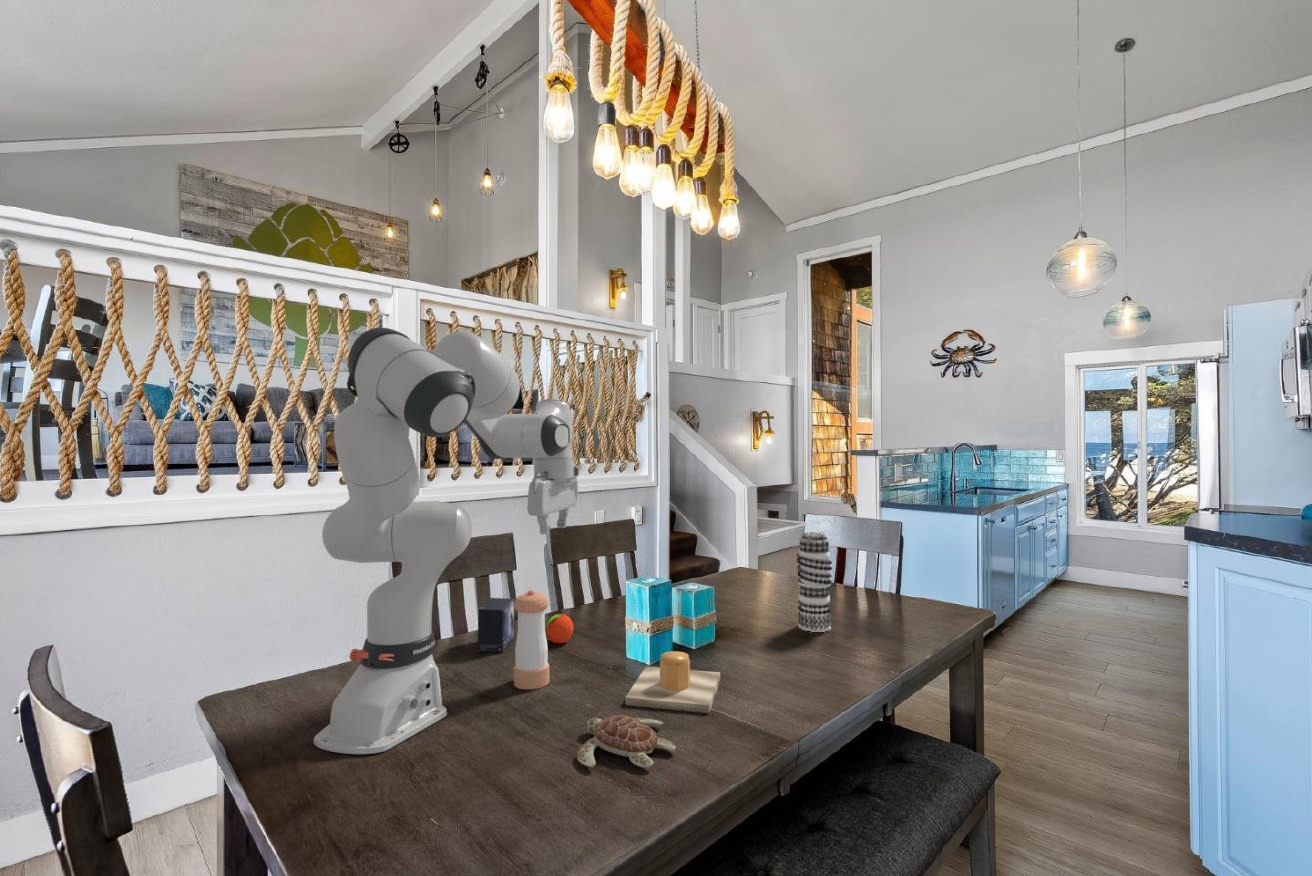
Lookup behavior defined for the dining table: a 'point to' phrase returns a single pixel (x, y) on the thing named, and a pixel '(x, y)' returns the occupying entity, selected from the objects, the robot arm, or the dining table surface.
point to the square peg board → (674, 692)
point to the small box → (495, 625)
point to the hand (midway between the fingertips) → (553, 530)
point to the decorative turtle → (623, 739)
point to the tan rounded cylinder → (674, 670)
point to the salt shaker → (531, 642)
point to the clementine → (559, 628)
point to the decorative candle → (814, 582)
